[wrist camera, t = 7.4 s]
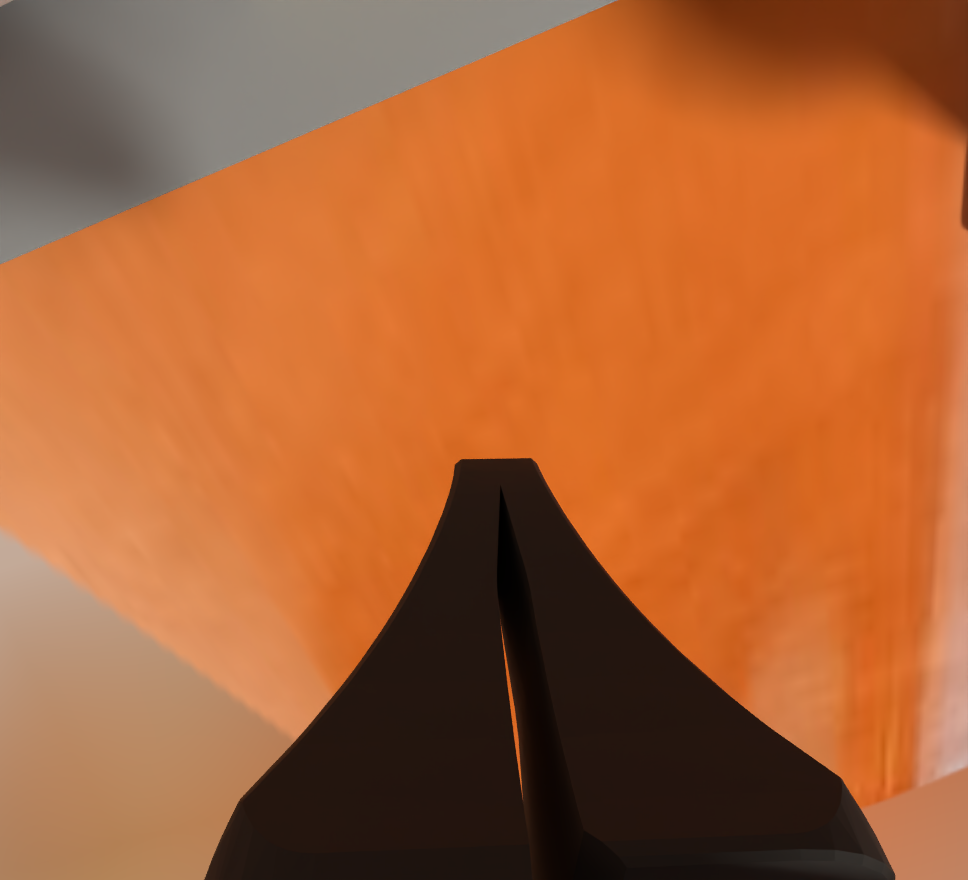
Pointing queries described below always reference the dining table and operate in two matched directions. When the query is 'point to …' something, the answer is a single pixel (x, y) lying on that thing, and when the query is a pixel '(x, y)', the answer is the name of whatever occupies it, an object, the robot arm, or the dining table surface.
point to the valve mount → (205, 88)
